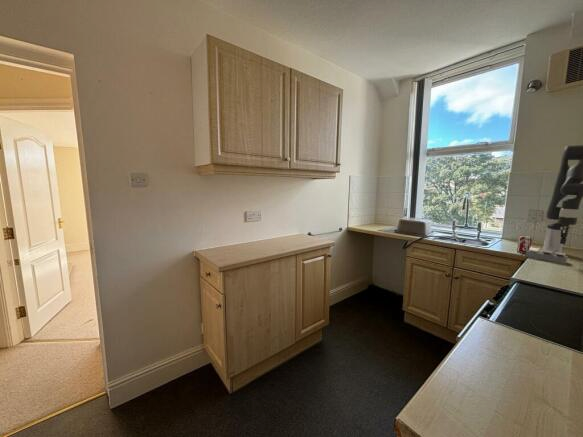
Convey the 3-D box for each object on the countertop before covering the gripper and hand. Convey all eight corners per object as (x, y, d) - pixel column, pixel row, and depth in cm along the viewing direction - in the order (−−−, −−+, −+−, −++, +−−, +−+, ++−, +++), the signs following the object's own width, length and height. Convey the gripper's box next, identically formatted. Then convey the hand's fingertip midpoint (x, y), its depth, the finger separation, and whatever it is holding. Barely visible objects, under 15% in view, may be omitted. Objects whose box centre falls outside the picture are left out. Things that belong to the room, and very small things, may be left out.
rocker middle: (543, 251, 161) (543, 249, 161) (551, 253, 158) (552, 251, 158) (541, 251, 157) (542, 249, 157) (550, 252, 154) (551, 250, 154)
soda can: (523, 251, 177) (526, 235, 175) (532, 254, 170) (535, 237, 168) (513, 251, 177) (516, 235, 175) (521, 253, 171) (524, 237, 169)
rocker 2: (556, 253, 156) (556, 252, 156) (565, 255, 153) (565, 253, 153) (555, 253, 153) (555, 251, 153) (564, 255, 149) (565, 253, 149)
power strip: (527, 255, 168) (529, 248, 167) (566, 262, 154) (568, 255, 153) (525, 257, 163) (526, 250, 162) (565, 264, 149) (566, 257, 148)
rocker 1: (531, 247, 166) (531, 246, 165) (539, 248, 163) (539, 247, 162) (528, 250, 162) (529, 249, 162) (537, 252, 159) (537, 250, 159)
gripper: (560, 214, 155) (555, 241, 157) (557, 216, 147) (552, 243, 149) (578, 216, 149) (572, 243, 151) (576, 217, 141) (570, 246, 144)
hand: (562, 243), depth 150 cm, fingers closed
